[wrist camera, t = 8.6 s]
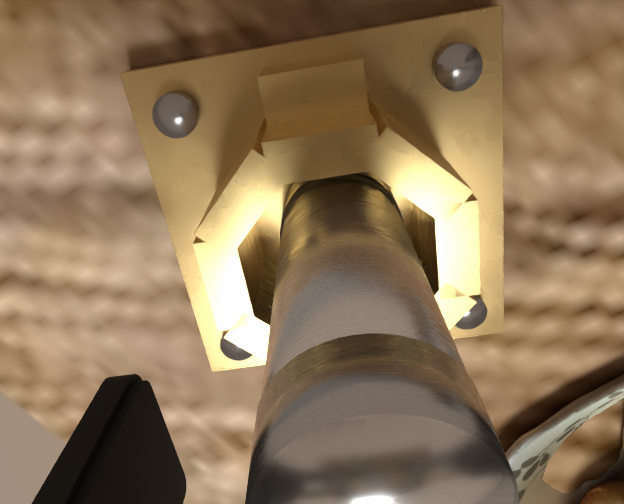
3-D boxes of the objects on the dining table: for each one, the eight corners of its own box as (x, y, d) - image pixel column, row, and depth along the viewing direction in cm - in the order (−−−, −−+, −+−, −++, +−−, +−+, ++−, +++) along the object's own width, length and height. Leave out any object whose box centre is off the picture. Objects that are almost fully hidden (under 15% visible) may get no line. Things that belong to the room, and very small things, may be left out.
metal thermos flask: (390, 152, 18) (520, 393, 7) (401, 258, 19) (517, 584, 9) (272, 171, 18) (215, 431, 7) (293, 274, 20) (273, 609, 9)
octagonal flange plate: (491, 5, 17) (560, 6, 12) (495, 318, 22) (544, 401, 17) (129, 69, 17) (66, 93, 13) (216, 357, 23) (193, 445, 18)
